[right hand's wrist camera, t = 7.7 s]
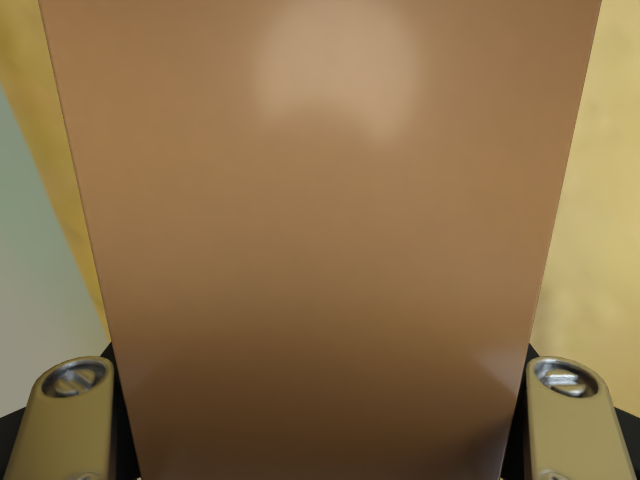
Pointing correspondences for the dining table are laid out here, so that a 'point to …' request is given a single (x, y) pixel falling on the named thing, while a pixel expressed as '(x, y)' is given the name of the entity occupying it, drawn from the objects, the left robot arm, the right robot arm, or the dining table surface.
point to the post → (320, 222)
